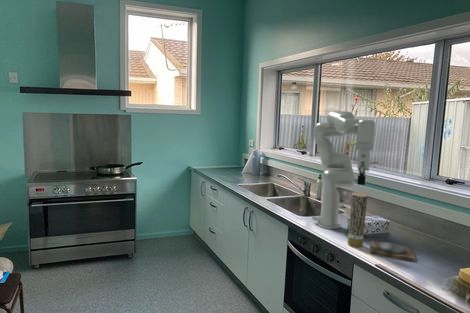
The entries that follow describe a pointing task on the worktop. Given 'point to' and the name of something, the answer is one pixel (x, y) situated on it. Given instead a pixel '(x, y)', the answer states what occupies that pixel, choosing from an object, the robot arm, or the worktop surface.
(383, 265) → the worktop surface
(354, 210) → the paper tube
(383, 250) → the brown tray
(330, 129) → the robot arm
